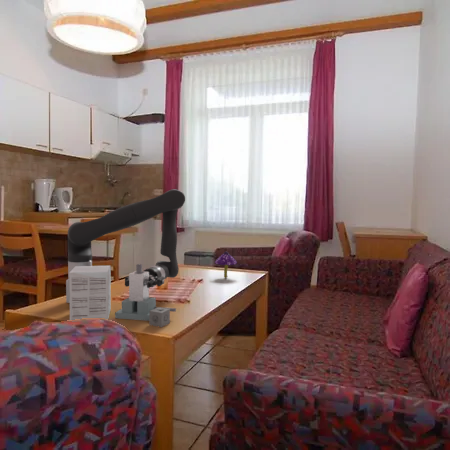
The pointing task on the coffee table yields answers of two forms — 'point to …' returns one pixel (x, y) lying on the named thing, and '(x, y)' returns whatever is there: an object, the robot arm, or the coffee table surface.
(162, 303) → the coffee table surface
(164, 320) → the dice cube
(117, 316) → the vise
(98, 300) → the supplement box
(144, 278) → the steel sleeve
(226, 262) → the decorative mushroom
